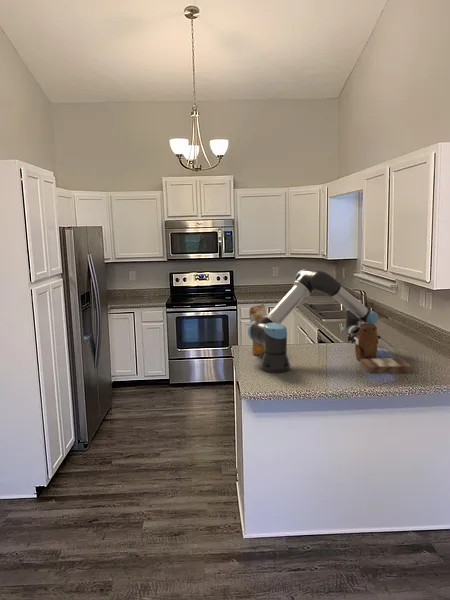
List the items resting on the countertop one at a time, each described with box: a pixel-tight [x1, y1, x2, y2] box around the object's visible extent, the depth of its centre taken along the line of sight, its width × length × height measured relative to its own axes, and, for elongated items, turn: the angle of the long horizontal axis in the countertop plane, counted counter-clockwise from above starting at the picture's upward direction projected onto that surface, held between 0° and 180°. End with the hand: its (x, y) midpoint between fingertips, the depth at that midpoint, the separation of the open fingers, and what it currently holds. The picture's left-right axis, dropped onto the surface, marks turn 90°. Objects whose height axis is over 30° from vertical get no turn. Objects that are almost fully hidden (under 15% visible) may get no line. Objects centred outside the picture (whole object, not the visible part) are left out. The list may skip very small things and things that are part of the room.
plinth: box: [359, 357, 413, 374], centre depth 246 cm, size 22×15×3 cm
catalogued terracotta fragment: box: [354, 323, 378, 361], centre depth 261 cm, size 11×8×20 cm
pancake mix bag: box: [248, 303, 268, 356], centre depth 280 cm, size 7×19×28 cm, turn 141°
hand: (368, 342), depth 257 cm, fingers closed on catalogued terracotta fragment, 11 cm apart
